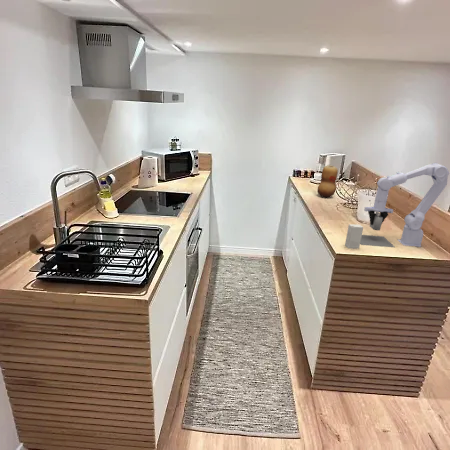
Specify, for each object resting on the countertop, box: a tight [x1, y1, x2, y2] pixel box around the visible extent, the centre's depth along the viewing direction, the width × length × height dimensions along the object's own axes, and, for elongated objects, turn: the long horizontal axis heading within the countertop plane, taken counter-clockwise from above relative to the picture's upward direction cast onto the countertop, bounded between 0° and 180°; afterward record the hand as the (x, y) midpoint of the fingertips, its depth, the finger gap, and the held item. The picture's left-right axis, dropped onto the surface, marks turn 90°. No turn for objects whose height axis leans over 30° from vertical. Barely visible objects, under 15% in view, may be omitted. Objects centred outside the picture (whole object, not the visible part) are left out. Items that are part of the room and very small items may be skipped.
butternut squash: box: [317, 164, 339, 198], centre depth 274 cm, size 14×13×25 cm
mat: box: [360, 234, 396, 248], centre depth 189 cm, size 18×16×1 cm
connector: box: [369, 212, 383, 231], centre depth 188 cm, size 4×8×9 cm, turn 178°
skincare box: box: [344, 223, 364, 250], centre depth 176 cm, size 6×4×12 cm
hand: (375, 224), depth 189 cm, fingers closed on connector, 4 cm apart
